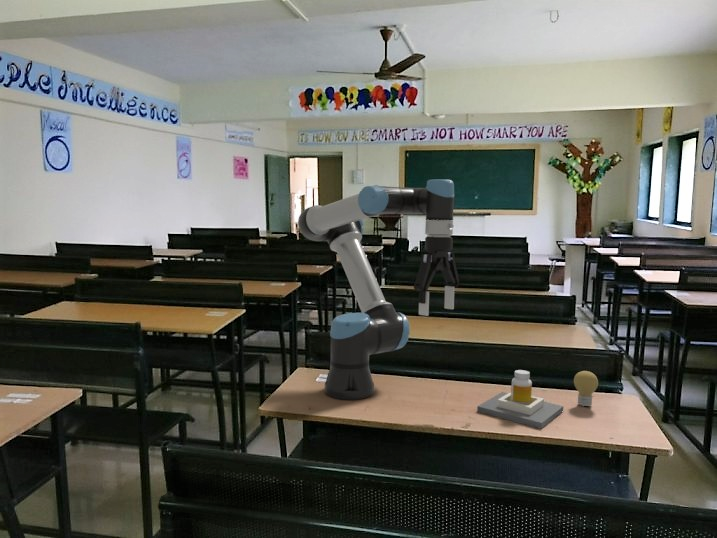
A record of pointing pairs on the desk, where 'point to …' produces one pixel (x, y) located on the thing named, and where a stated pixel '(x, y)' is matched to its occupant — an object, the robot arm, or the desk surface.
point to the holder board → (521, 410)
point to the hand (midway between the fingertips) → (436, 311)
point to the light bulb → (585, 387)
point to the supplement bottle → (521, 387)
